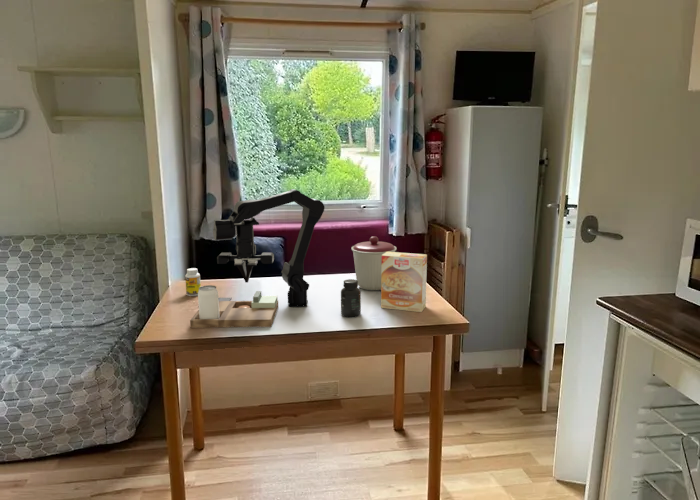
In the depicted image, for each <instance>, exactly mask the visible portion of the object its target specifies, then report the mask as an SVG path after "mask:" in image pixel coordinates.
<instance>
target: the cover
mask: <svg viewBox="0 0 700 500" xmlns="http://www.w3.org/2000/svg"><path fill="white" fill-rule="evenodd" d="M251 301H252V303H251V307H252V308H275V306H276V304H277V301H278V302H279V300H278V295H263V294H262V291H261V290H256V291H255V293H254V294H253V296H252V300H251Z"/></svg>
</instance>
